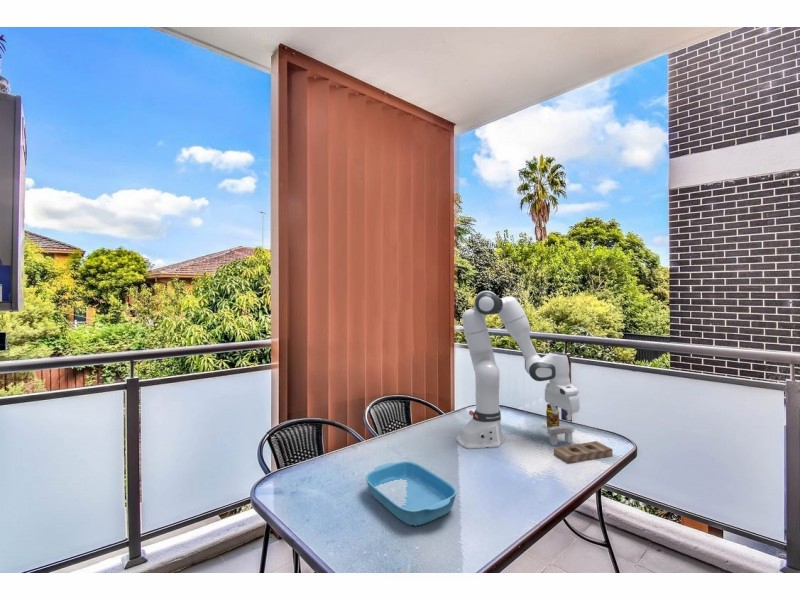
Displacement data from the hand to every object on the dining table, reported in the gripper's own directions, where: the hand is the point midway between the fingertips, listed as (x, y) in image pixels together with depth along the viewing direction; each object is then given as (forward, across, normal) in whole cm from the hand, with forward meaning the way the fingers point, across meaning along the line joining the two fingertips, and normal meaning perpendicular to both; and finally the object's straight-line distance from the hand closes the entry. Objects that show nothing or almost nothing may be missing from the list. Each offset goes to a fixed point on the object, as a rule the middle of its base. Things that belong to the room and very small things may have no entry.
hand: (561, 416), depth 175 cm
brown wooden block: (+12, +14, -1) cm, 18 cm away
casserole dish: (+11, +25, -81) cm, 85 cm away
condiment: (+13, -19, +8) cm, 25 cm away
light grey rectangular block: (+12, 0, -1) cm, 12 cm away
